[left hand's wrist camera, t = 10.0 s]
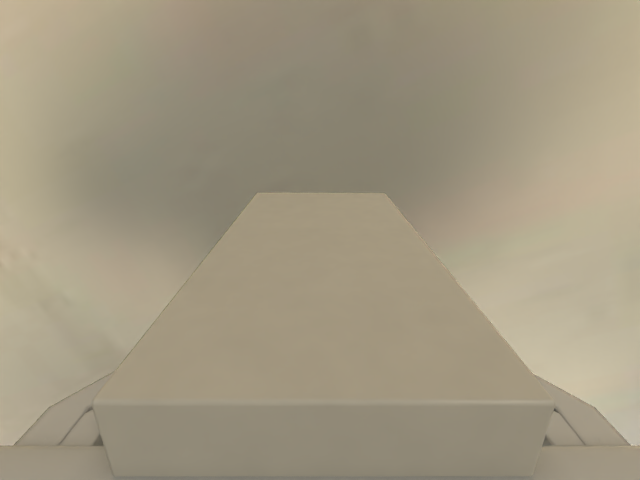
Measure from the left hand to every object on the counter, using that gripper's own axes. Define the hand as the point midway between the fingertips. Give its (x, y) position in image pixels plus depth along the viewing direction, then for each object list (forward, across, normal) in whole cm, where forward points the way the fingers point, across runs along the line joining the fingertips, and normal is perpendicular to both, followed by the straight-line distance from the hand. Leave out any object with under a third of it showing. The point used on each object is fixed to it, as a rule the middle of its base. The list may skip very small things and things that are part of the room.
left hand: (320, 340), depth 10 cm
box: (+7, 0, +8) cm, 10 cm away
